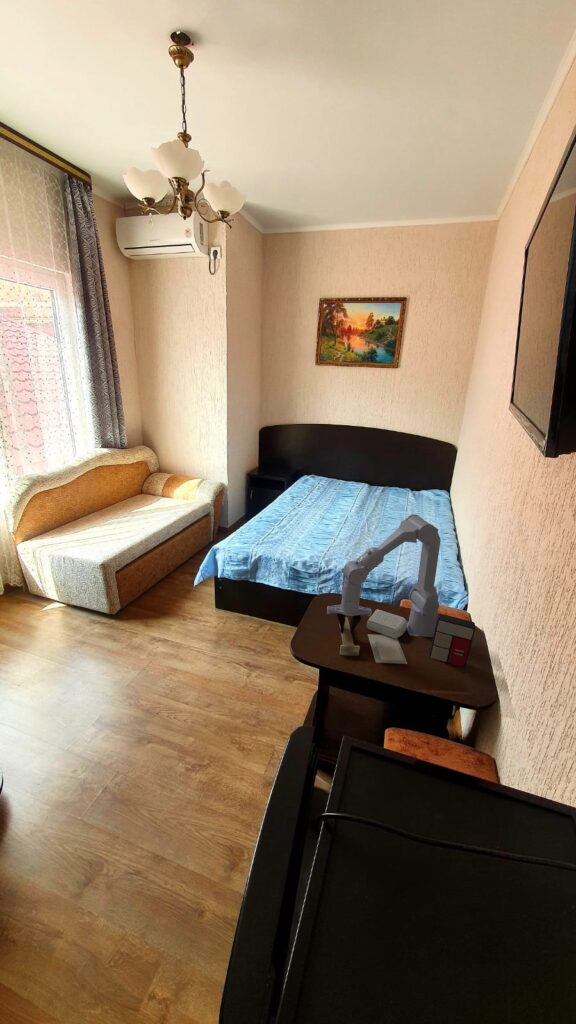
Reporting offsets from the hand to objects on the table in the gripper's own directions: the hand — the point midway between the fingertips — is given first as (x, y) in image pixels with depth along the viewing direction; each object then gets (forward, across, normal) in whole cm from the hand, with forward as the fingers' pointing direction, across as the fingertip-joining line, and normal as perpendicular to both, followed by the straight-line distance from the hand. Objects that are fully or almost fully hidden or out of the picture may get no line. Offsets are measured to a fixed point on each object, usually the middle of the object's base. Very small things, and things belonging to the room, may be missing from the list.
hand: (346, 631), depth 137 cm
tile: (+2, -13, +3) cm, 13 cm away
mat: (+3, -13, +4) cm, 14 cm away
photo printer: (+1, -10, -10) cm, 14 cm away
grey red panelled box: (+3, -32, +8) cm, 33 cm away
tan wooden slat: (+3, 0, +1) cm, 3 cm away
